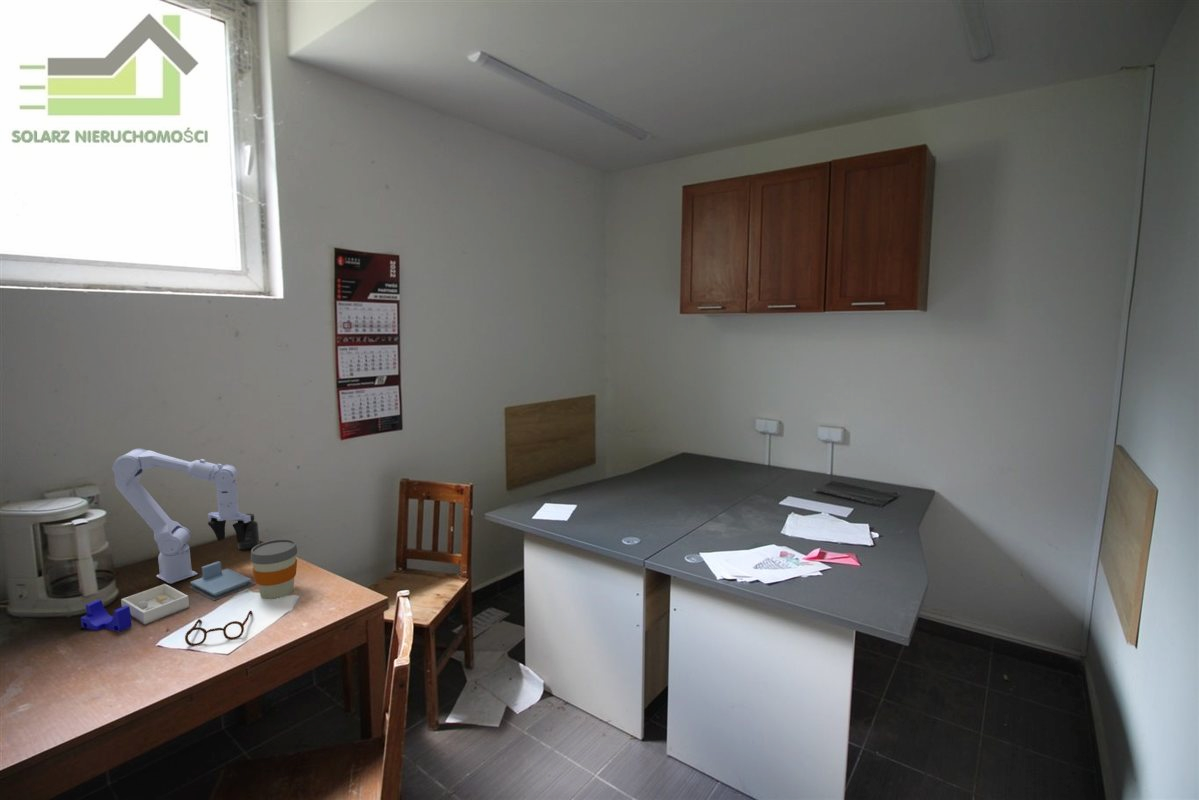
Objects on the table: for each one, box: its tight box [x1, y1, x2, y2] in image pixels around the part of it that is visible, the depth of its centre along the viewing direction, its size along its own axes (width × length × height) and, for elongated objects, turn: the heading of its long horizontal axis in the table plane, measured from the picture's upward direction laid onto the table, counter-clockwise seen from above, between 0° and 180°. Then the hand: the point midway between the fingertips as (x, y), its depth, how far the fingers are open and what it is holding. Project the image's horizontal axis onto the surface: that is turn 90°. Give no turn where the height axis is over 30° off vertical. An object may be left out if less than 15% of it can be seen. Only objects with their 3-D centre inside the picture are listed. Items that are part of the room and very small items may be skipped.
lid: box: [190, 561, 252, 596], centre depth 175 cm, size 14×11×6 cm
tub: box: [120, 583, 190, 625], centre depth 162 cm, size 14×11×4 cm
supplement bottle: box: [237, 513, 261, 551], centre depth 205 cm, size 7×7×12 cm
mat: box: [188, 581, 256, 602], centre depth 176 cm, size 15×12×1 cm
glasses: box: [184, 610, 254, 647], centre depth 152 cm, size 13×13×5 cm
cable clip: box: [80, 599, 133, 632], centre depth 152 cm, size 12×4×6 cm, turn 75°
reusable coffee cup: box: [250, 538, 298, 600], centre depth 172 cm, size 12×13×15 cm
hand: (231, 540), depth 185 cm, fingers open, 7 cm apart
